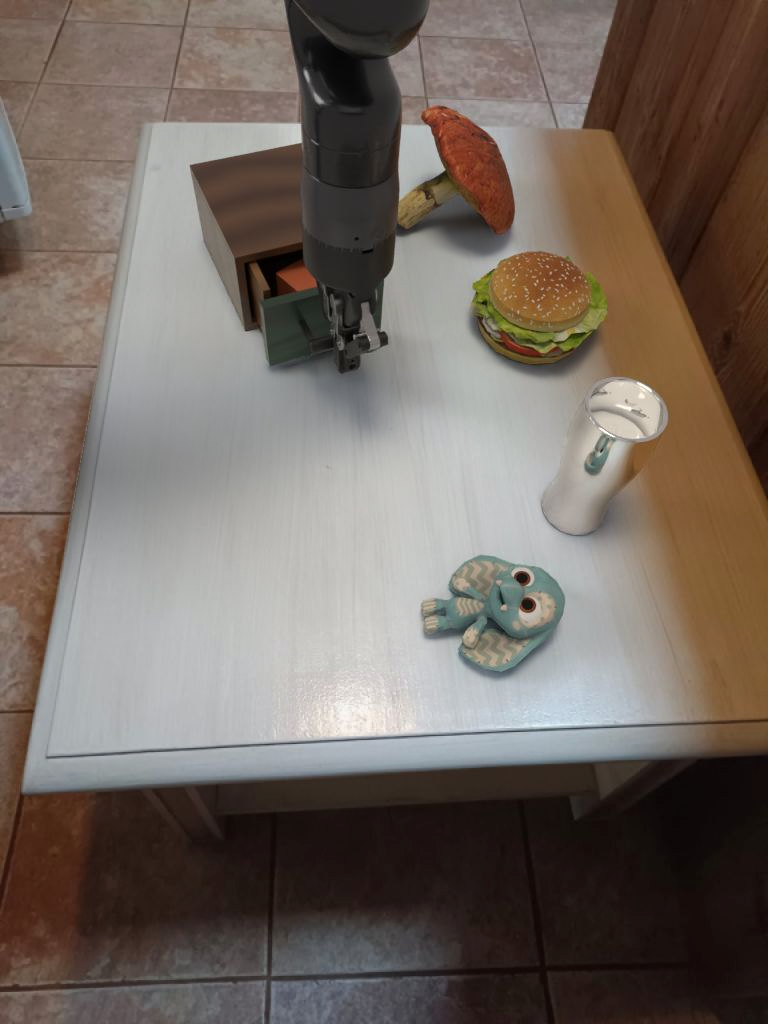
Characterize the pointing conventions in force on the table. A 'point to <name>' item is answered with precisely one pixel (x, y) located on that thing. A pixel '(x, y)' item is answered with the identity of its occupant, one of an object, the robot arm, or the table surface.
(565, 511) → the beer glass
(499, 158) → the mushroom
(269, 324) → the drawer
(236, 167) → the cabinet
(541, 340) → the food
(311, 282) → the block
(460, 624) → the stuffed animal
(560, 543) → the table surface
